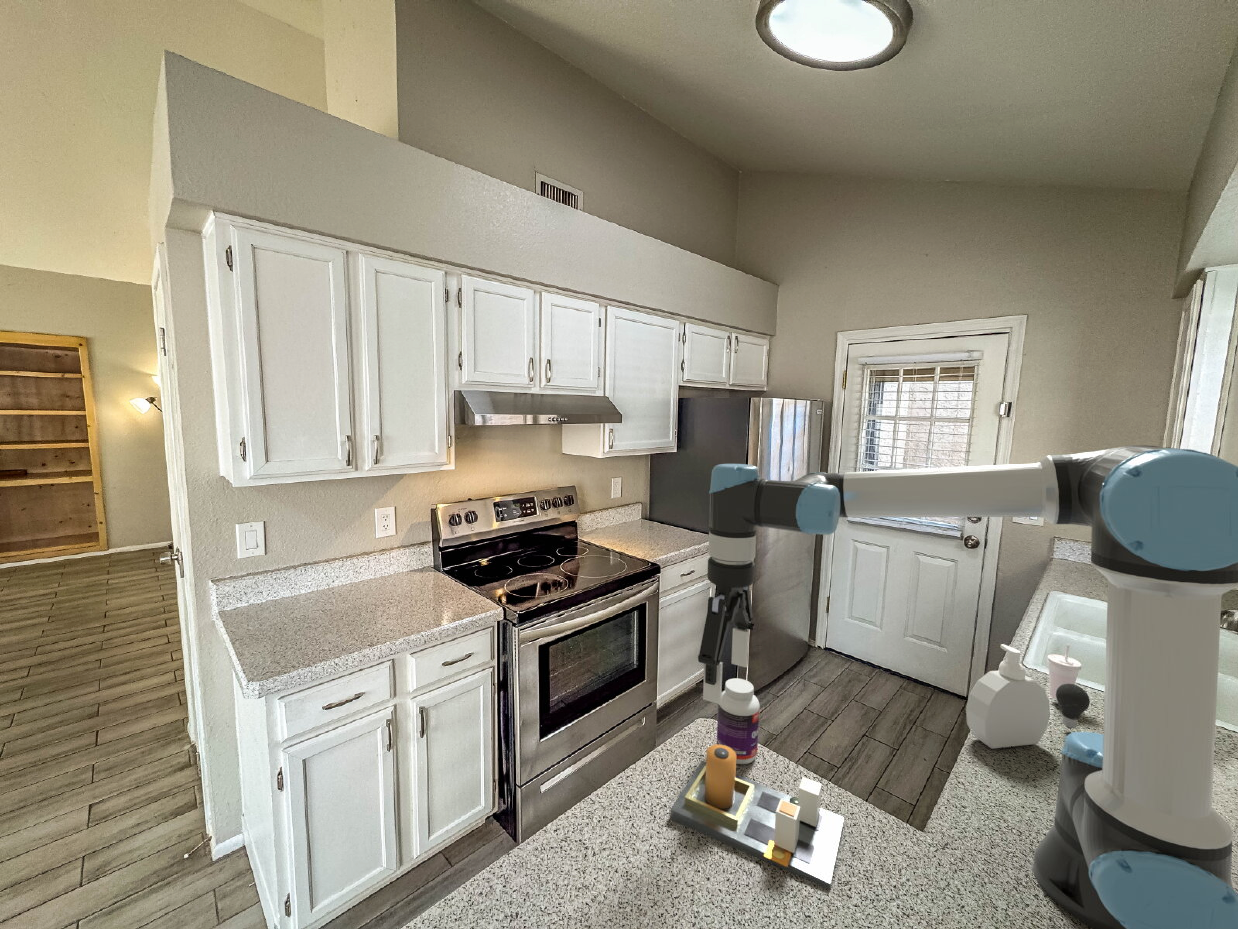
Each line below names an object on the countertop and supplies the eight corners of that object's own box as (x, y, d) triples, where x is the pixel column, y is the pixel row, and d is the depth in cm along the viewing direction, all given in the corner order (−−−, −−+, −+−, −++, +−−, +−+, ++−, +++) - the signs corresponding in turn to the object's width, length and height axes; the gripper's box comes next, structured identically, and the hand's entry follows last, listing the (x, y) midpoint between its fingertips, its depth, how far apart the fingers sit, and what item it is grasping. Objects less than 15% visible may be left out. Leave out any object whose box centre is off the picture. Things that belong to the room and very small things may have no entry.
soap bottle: (1023, 728, 113) (1033, 642, 111) (1047, 743, 108) (1058, 653, 105) (960, 734, 110) (969, 646, 108) (982, 750, 105) (992, 658, 103)
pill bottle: (758, 770, 97) (762, 699, 96) (715, 763, 99) (719, 693, 98) (755, 743, 105) (759, 677, 104) (716, 737, 107) (719, 672, 105)
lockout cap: (738, 794, 89) (740, 749, 88) (728, 813, 84) (730, 766, 83) (711, 782, 91) (712, 739, 90) (700, 800, 87) (702, 755, 86)
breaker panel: (843, 828, 84) (844, 810, 84) (828, 900, 72) (829, 879, 71) (701, 770, 97) (702, 755, 97) (668, 823, 84) (668, 805, 84)
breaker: (819, 814, 84) (821, 784, 83) (816, 827, 81) (818, 795, 81) (800, 807, 86) (802, 776, 85) (796, 819, 83) (798, 788, 82)
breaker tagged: (798, 839, 79) (800, 805, 78) (794, 853, 76) (796, 819, 76) (778, 830, 81) (780, 798, 80) (773, 844, 78) (775, 810, 77)
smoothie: (1053, 703, 123) (1060, 648, 121) (1036, 689, 129) (1043, 636, 128) (1083, 706, 122) (1091, 650, 120) (1065, 692, 128) (1071, 638, 127)
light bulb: (1093, 736, 110) (1098, 692, 109) (1067, 735, 110) (1072, 692, 109) (1070, 720, 116) (1075, 679, 115) (1045, 719, 116) (1050, 678, 115)
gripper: (733, 539, 96) (729, 647, 98) (678, 574, 75) (674, 711, 77) (774, 545, 92) (768, 657, 94) (727, 583, 71) (722, 727, 73)
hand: (726, 681), depth 85 cm, fingers open, 13 cm apart
